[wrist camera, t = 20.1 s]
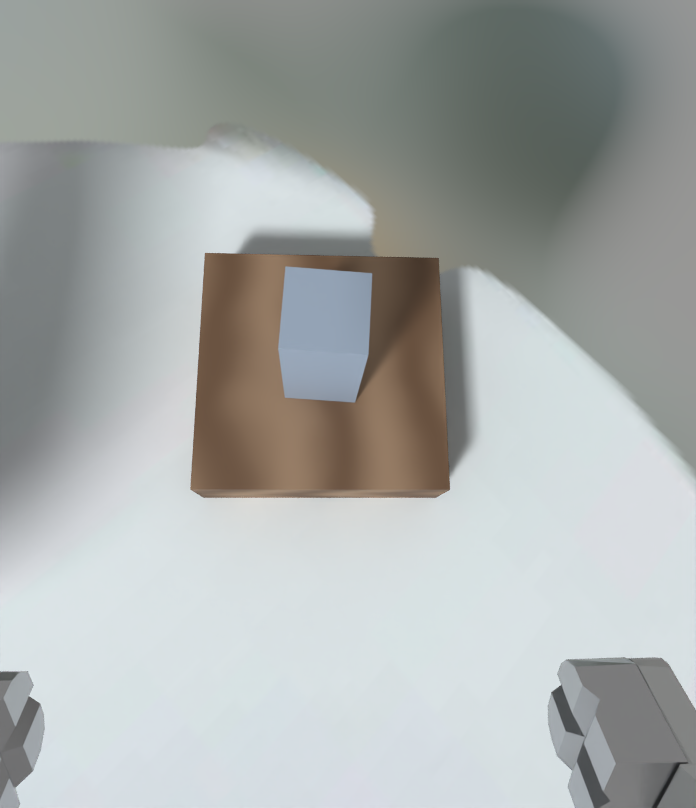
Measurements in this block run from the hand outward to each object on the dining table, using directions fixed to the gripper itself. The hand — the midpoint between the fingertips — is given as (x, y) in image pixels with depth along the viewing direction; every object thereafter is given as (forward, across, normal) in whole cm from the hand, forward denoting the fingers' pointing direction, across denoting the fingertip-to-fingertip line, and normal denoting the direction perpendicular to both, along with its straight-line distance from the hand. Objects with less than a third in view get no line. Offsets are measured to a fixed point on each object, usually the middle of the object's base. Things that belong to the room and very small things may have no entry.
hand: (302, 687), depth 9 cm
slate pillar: (+29, -1, +9) cm, 31 cm away
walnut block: (+33, -1, +13) cm, 35 cm away
